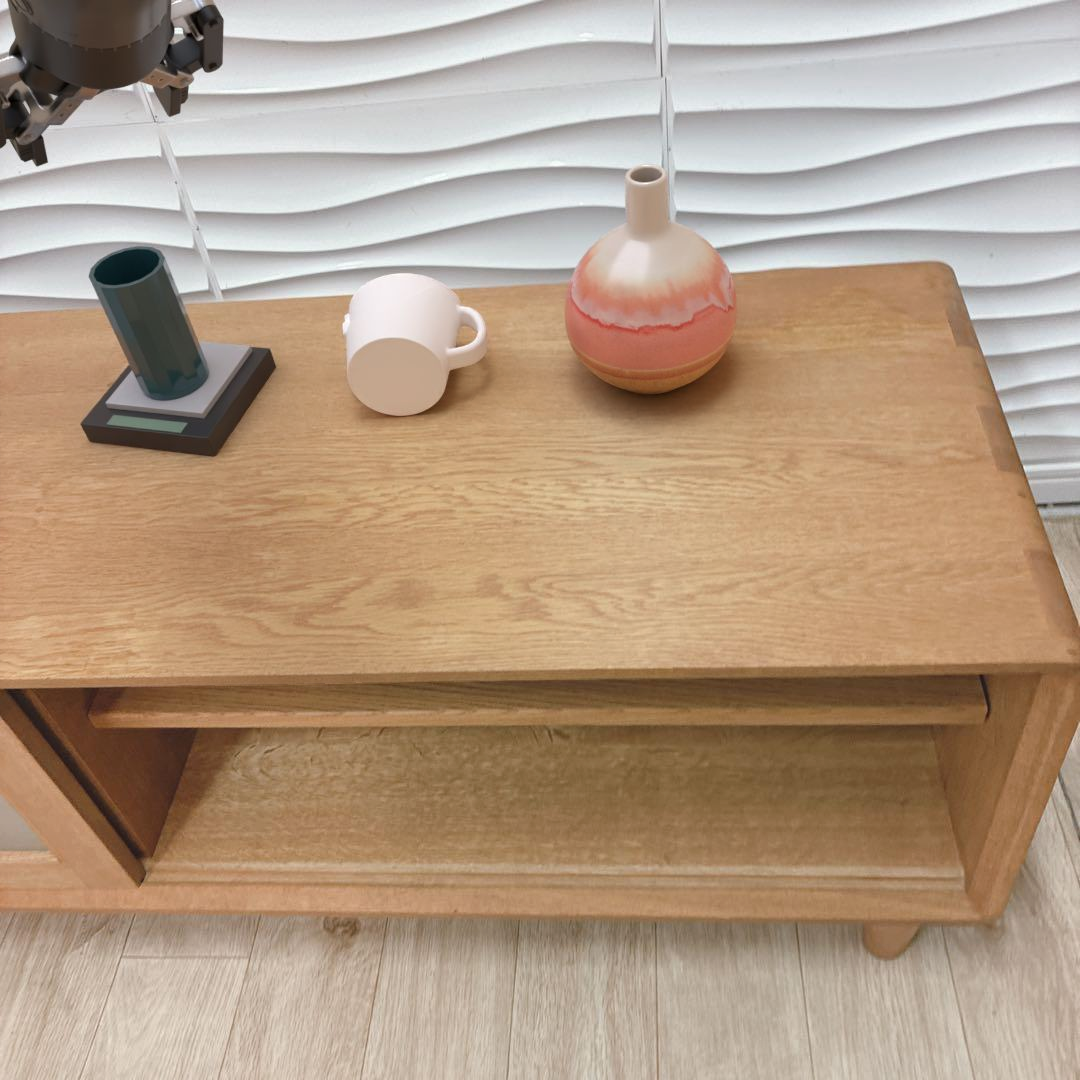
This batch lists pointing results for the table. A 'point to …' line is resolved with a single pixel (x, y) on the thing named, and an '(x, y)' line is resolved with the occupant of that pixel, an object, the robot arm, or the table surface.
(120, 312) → the cup
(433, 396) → the mug
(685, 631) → the table surface
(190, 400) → the scale
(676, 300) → the vase
